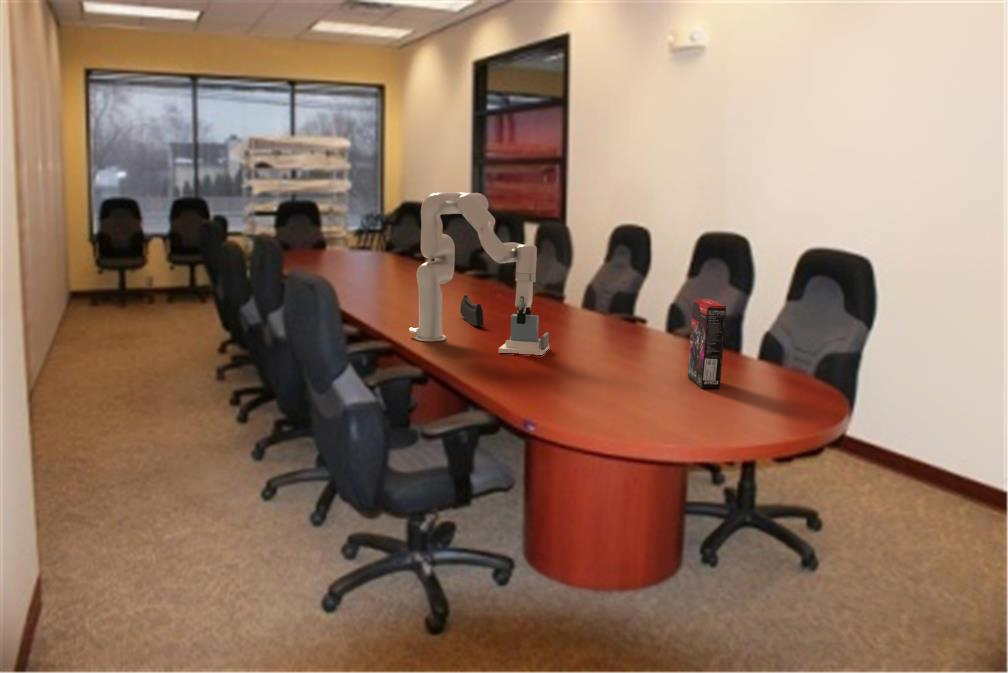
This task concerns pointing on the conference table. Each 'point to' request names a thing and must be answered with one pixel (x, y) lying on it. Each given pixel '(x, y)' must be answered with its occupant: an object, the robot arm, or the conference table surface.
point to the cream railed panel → (526, 346)
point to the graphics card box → (706, 343)
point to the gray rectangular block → (525, 329)
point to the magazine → (471, 312)
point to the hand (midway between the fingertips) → (523, 321)
